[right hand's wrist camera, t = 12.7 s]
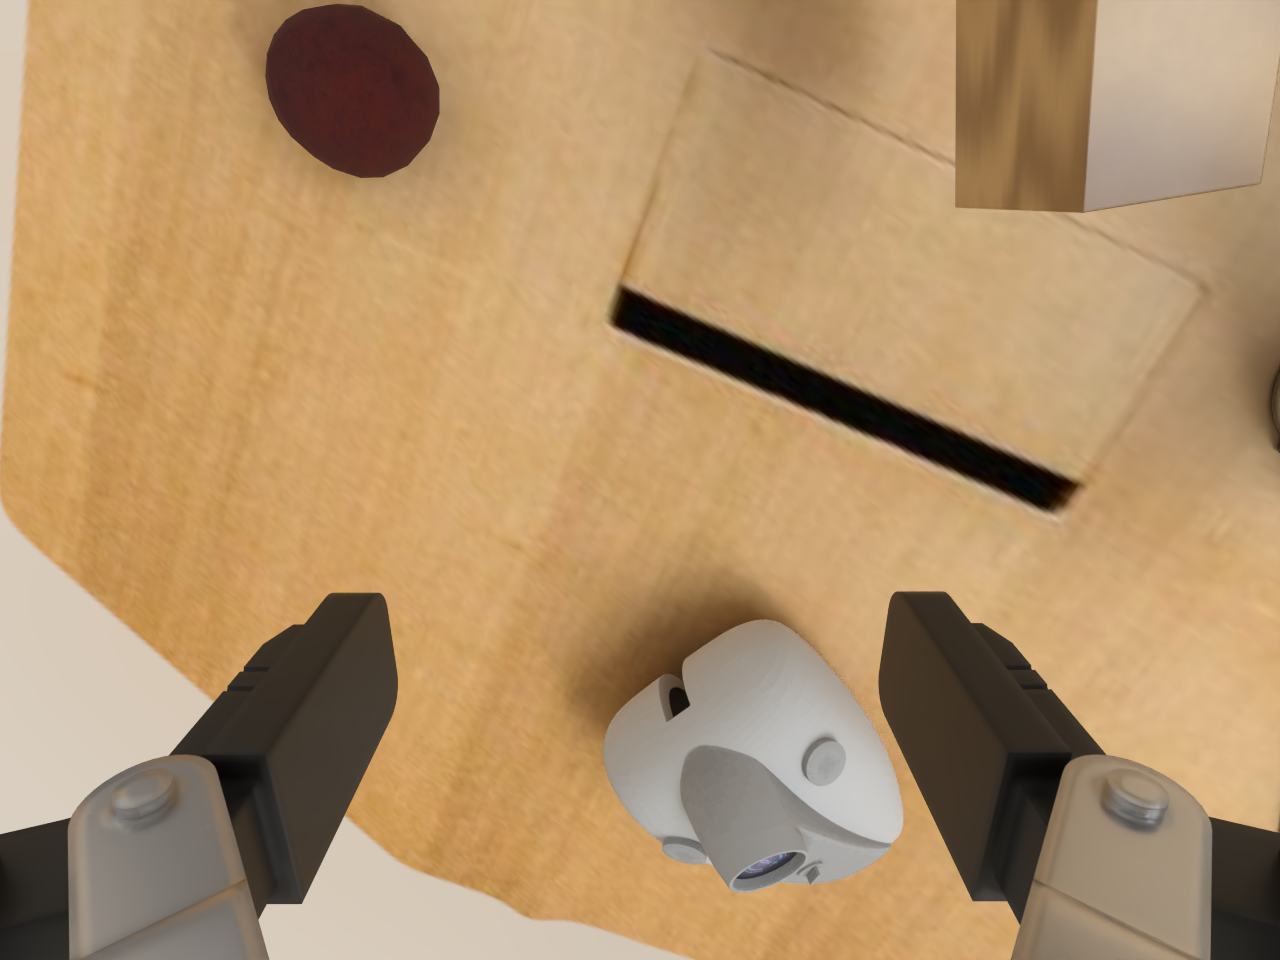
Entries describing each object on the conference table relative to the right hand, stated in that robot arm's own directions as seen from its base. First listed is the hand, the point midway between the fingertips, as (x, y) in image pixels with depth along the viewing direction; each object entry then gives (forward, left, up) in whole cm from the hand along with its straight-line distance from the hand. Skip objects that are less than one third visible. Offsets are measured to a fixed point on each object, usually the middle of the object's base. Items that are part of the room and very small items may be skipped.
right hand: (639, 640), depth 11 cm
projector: (-31, -10, -33) cm, 46 cm away
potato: (+11, +14, -33) cm, 37 cm away
